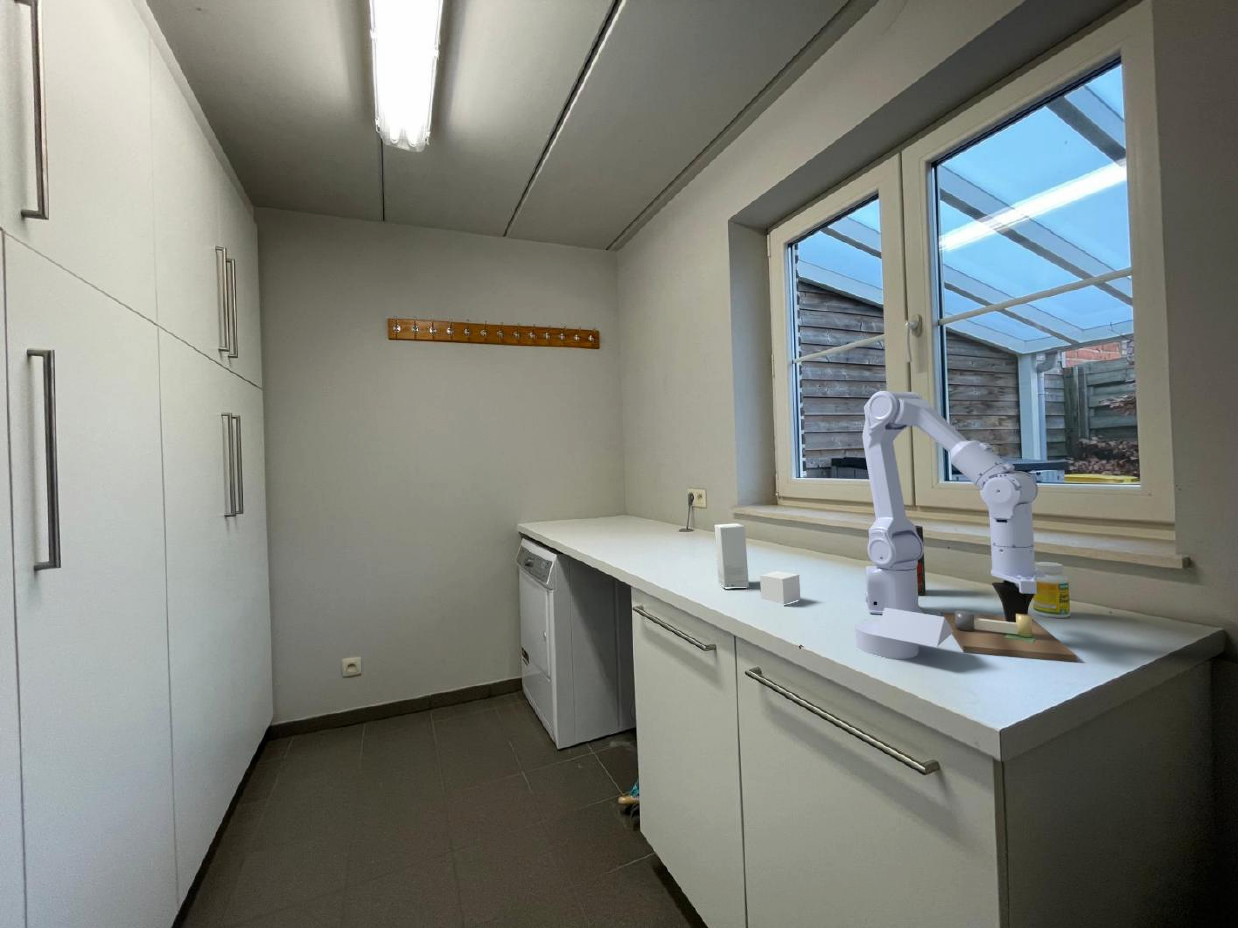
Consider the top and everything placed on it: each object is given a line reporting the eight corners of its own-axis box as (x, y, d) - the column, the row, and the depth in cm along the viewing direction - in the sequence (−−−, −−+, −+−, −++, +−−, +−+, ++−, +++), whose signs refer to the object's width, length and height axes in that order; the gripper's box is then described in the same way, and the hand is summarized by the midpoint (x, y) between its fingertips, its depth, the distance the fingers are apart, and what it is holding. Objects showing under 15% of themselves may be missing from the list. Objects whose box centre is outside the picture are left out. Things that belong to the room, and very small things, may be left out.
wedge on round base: (954, 652, 81) (868, 635, 90) (952, 610, 81) (866, 597, 90) (937, 670, 75) (847, 650, 84) (935, 624, 75) (845, 608, 84)
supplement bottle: (1039, 608, 101) (1037, 559, 101) (1074, 614, 96) (1072, 563, 96) (1028, 614, 98) (1026, 563, 98) (1064, 620, 93) (1062, 567, 93)
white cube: (761, 601, 115) (759, 574, 115) (777, 596, 119) (776, 570, 119) (783, 606, 110) (782, 578, 110) (800, 601, 114) (799, 574, 114)
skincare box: (749, 589, 126) (746, 526, 127) (722, 590, 127) (719, 527, 127) (741, 581, 135) (738, 522, 135) (716, 582, 135) (713, 523, 135)
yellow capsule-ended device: (955, 629, 88) (954, 609, 88) (956, 624, 90) (955, 605, 90) (1032, 638, 82) (1032, 618, 82) (1031, 633, 84) (1030, 613, 84)
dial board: (963, 652, 81) (963, 645, 81) (941, 617, 98) (941, 611, 98) (1076, 661, 75) (1076, 654, 75) (1031, 623, 93) (1031, 617, 93)
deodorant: (926, 590, 118) (923, 525, 118) (925, 596, 113) (922, 528, 113) (896, 588, 121) (893, 524, 121) (894, 594, 116) (891, 527, 116)
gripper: (1059, 552, 77) (1064, 643, 77) (1026, 538, 90) (1030, 615, 90) (1002, 551, 80) (1007, 639, 80) (978, 538, 93) (982, 613, 93)
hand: (1016, 626), depth 85 cm, fingers closed, pressing on yellow capsule-ended device
